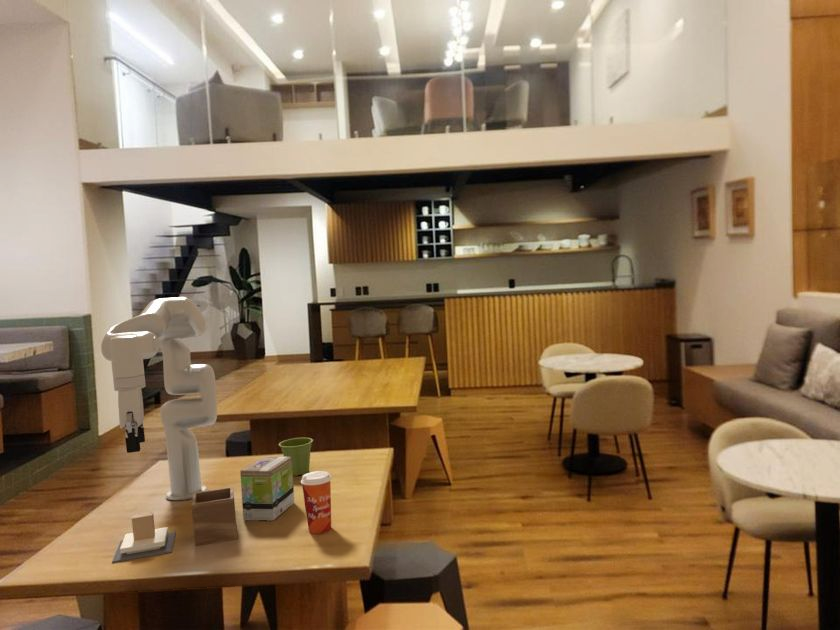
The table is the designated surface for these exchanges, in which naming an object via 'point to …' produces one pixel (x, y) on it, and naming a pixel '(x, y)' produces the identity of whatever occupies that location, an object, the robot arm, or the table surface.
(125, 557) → the mat
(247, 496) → the tea box
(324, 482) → the coffee cup
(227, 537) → the box
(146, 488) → the table surface
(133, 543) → the lid
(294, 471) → the plant pot
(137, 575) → the table surface
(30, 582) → the table surface
